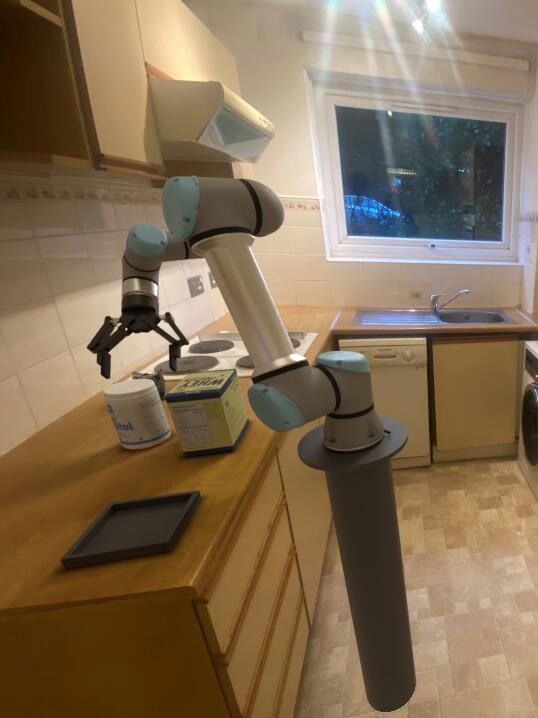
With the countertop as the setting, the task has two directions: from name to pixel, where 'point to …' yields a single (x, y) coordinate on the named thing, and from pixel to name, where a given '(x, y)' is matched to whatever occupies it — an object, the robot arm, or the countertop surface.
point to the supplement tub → (137, 413)
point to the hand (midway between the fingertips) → (140, 373)
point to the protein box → (208, 412)
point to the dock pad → (133, 529)
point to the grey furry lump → (156, 378)
